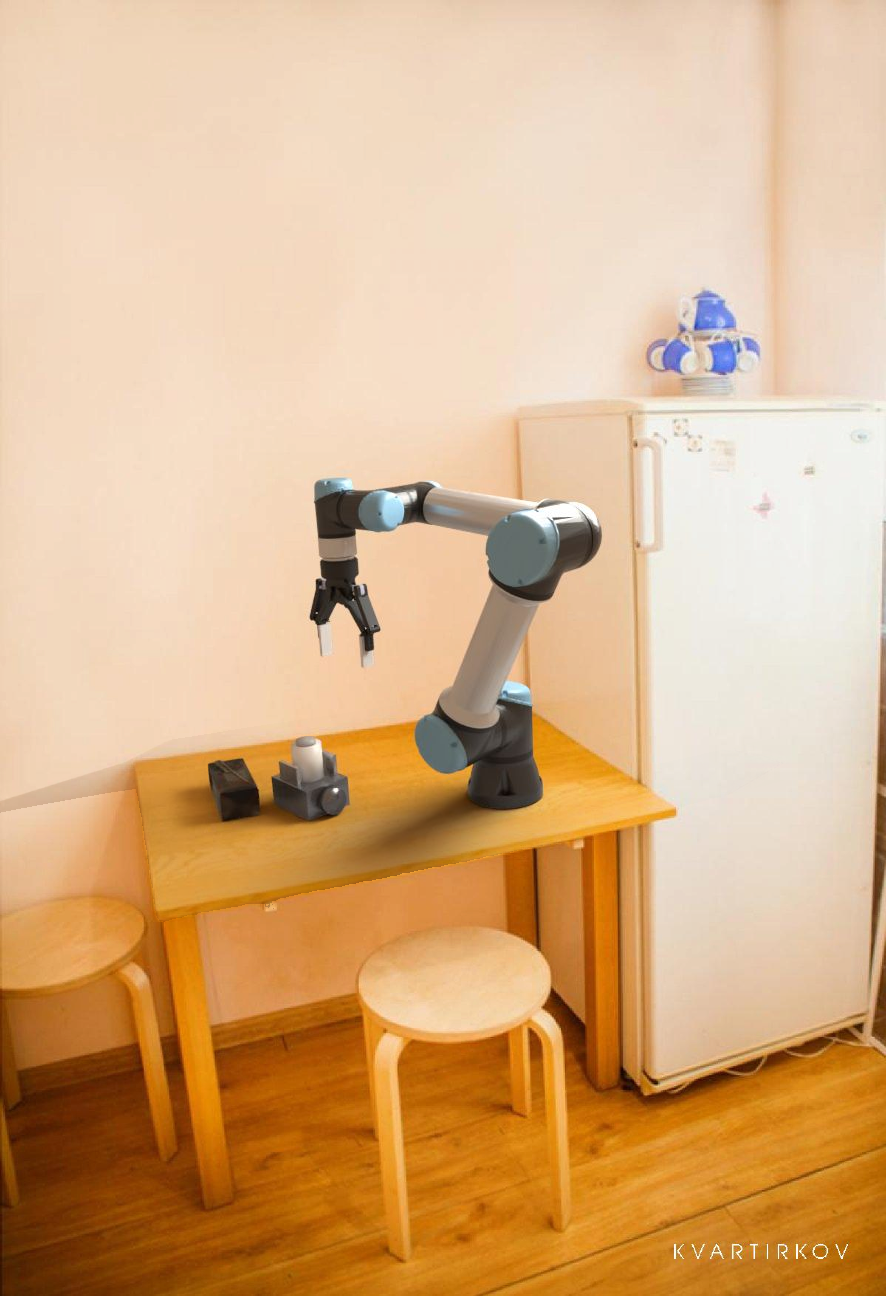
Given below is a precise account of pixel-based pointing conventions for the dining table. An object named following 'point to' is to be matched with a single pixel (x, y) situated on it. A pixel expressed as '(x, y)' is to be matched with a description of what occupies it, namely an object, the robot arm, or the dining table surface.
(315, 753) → the white cylindrical container
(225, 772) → the beverage carton
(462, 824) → the dining table surface
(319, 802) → the motor
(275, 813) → the dining table surface
